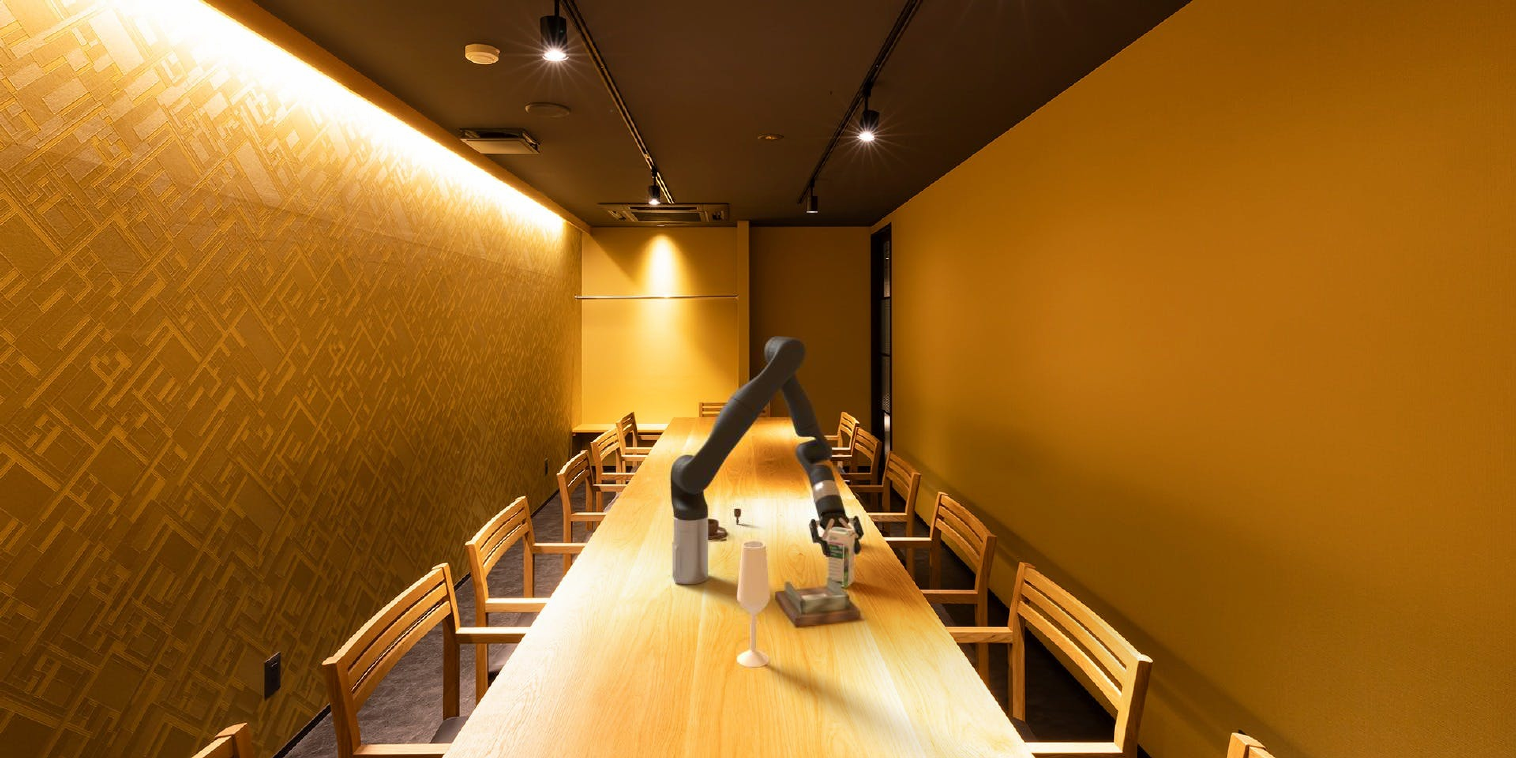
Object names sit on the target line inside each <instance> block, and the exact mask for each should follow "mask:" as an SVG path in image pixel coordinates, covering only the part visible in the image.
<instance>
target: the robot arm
mask: <svg viewBox="0 0 1516 758" xmlns="http://www.w3.org/2000/svg"><path fill="white" fill-rule="evenodd" d="M763 353H764V357H765V358H764V359H765V360H766V363H767V365H766V366H765V367H764V369H763V370H762V371H761V372H760V373H759V374H758V375H757V376H755V377H754V378H753V379H751V380H749V381H748V382H747V383H746V384H744V385H743V386H741V387H740V388H738V389H737V390H736V391H735V392H734V393H733V394H732V395H731V397H729V399H728V400H727V402H726V403H725V404H724V405H723V407H722V408H721V410H720V411H719V413H718V415H717V417H716V420H715V422H714V424H713V427H712V429H711V432H710V434H709V437H708V438H707V439H706V441H705V442H704V444H703V445H702V446H701V448H700V449H699V450H698V451H697V452H696V453H695V455H692V454H684V455H680V456H679V457H678V458H677V459H675V461H674V462H673V464H672V466H671V468H670V469H671V470H670V500H671V501H670V502H671V507H672V509H673V541H672V543H671V546H672V549H671V551H672V578H673V581H674V583H675V584H683V585H697V584H701V583H704V582H706V581H707V580H708V579H709V540H708V519H709V505H708V504H707V501H706V498H705V493H704V491H705V490H706V489H707V488H709V486H710V485H711V483H712V482H713V480H714V478H715V477H716V476H717V474H718V472H719V470H720V469H721V467H722V465H723V464H724V463H725V461H726V459H727V458H728V457H729V455H730V454H731V452H732V451H733V450H734V448H736V447H737V445H738V443H739V442H740V441H741V440H742V439H743V437H744V436H745V434H746V433H747V432H748V431H749V430H750V429H751V427H752V426H753V425H754V424H755V422H756V421H757V419H758V418H759V417H760V415H761V414H762V412H763V411H764V409H766V407H767V406H768V405H769V403H770V402H771V401H772V400H773V398H774V397H775V396H776V394H777V393H778V391H780V392H781V394H782V396H783V398H784V401H785V404H786V406H787V409H788V412H789V416H790V420H791V422H792V425H793V428H794V430H795V431H794V432H795V433H796V435H797V436H798V437H800V438H813V439H811V440H808V441H804V442H801V443H799V444H797V446H796V449H795V456H796V458H797V460H798V462H799V464H800V465H801V466H802V468H803V470H804V471H805V472H806V475H807V478H808V481H809V484H810V487H811V490H812V497H813V498H812V499H813V503H814V506H815V509H816V513H817V517H818V519H817V520H816V519H815V518H811V520H810V521H809V524H808V527H809V531H810V537H811V540H812V543H813V544H819V546H820V547H821V551H822V554H823V555H824V556H825V558H828V557H829V556H830V554H831V553H830V549H829V545H828V542H827V541H826V539H827V536H828V531H829V530H830V529H832V528H833V527H841V528H848V529H855V551H854V556H856V555H859V554H860V552H861V550H862V546H861V543H860V540H861V539H862V538H863V536H864V535H865V532H864V529H863V526H862V524H861V521H860V519H859V516H858V515H854V517H848V516H847V513H845V512H846V509H845V506H844V503H843V499H842V496H841V492H840V489H839V487H838V486H837V482H836V479H835V475H834V472H833V469H832V468H831V467H830V466H829V465H827V464H821V463H824V462H826V461H827V462H828V461H829V460H830V459H832V457H833V454H834V453H833V451H834V449H833V447H832V445H831V443H830V441H829V440H828V439H827V437H826V435H825V434H824V432H823V431H822V430H821V428H820V427H821V426H820V425H819V422H818V421H819V420H818V418H817V415H816V412H815V409H814V406H813V403H812V402H811V399H810V397H809V396H808V394H807V392H806V391H805V390H804V388H803V387H802V384H801V383H800V381H799V379H798V376H797V374H796V372H797V371H798V370H799V369H801V366H802V365H803V364H804V362H805V359H806V356H807V349H806V345H805V344H804V342H803V341H801V339H798V338H794V337H788V336H783V335H782V336H778V335H777V336H773V337H771V338H770V339H769V340H768V341H766V344H765V346H764V352H763ZM849 524H850V525H849ZM851 526H852V527H853V528H852V527H851ZM819 527H820V529H821V528H822V529H824V530H825V531H824V533H823V535H822V534H821V536H820V534H819V530H818V528H819Z"/></svg>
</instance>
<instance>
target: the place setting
mask: <svg viewBox="0 0 1516 758" xmlns="http://www.w3.org/2000/svg"><path fill="white" fill-rule="evenodd" d="M733 516H734V517H735V518H736V519H735V523H736V524H735V525H736V526H739V525H740V524H739V523H740V520H739V518H740V517H742V508H734V509H733ZM719 525H720V522H719V520H717V519H715V518H708V541H709V540H710V541H709V543H712V542H725V541H726V540H727V538H724V537H725V536H726V534H727V529H726V528H724V527H721V526H719ZM718 531H719V532H721V534H717V535H715V534H716V533H717V532H718Z"/></svg>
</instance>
